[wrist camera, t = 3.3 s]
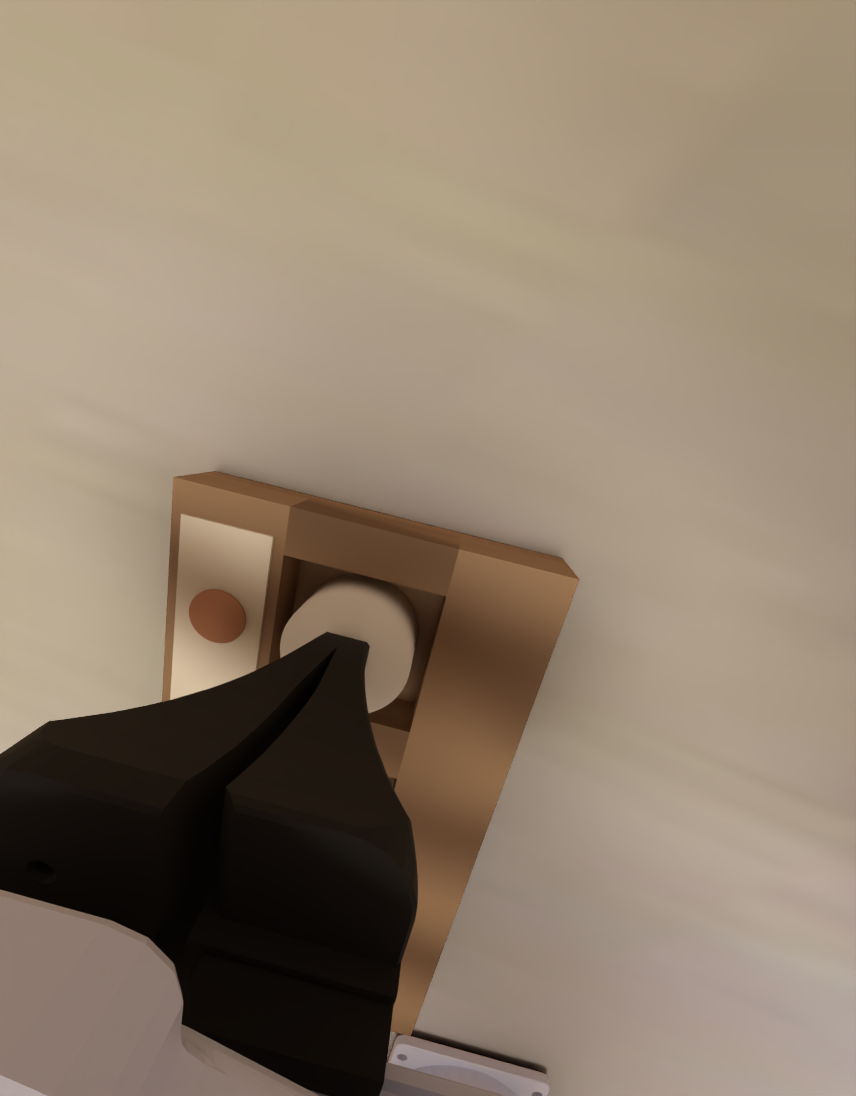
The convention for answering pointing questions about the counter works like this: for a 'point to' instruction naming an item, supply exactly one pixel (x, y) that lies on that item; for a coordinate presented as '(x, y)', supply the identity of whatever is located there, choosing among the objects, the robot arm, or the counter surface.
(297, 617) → the button
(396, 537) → the board
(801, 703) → the counter surface
